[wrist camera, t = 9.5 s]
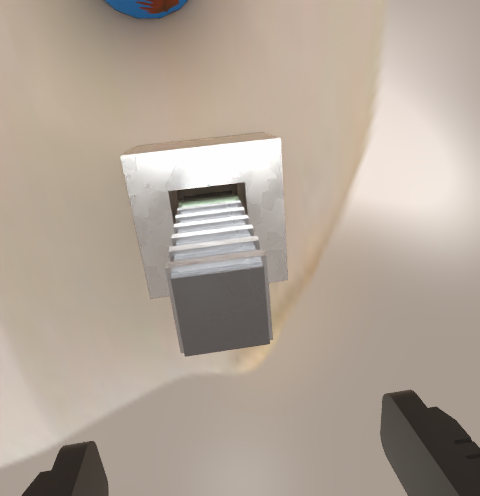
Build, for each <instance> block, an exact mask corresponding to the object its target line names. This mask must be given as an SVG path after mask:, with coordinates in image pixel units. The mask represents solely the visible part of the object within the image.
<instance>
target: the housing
mask: <svg viewBox="0 0 480 496" xmlns="http://www.w3.org/2000/svg"><path fill="white" fill-rule="evenodd" d="M120 157H121V162H122V167H123V171H124V176H125V181H126V186H127V190H128V195H129V200H130V205H131V209H132V214H133V219H134V223H135V228H136V233H137V238H138V242H139V247H140V252H141V257H142V261H143V266H144V271H145V276H146V280H147V285H148V290H149V294H150V299H153V298H160V297H168V296H170V292H169V287H168V282H167V276H166V271H165V266H166V262H170V258H169V247H172V240H171V237H172V234H175V233H174V224H176V219H175V218H176V215H178V213H177V208H179V204H178V203H179V201H178V195H177V190H182V189H190V188H199V187H207V186H216V185H224V184H233V183H237V192H238V199H239V200H240V201H241V206H242V207H244V209H245V215H247V216H248V218H249V225H250V224H252V226H253V228H254V236H258V238H259V243H260V250H263V249H264V251H265V253H266V256H267V269H268V282H269V283H270V282H277V281H284V280H288V270H287V251H286V232H285V213H284V194H283V175H282V156H281V138H279V137H275V136H272V135H269V134H266V133H263V132H262V133H253V134H244V135H234V136H225V137H216V138H207V139H197V140H188V141H179V142H170V143H160V144H151V145H142V146H136V147H135V148H133V149H131V150H129V151H128V152H126V153H124V154H122V155H121V156H120Z"/></svg>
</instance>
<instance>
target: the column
mask: <svg viewBox="0 0 480 496" xmlns="http://www.w3.org/2000/svg"><path fill="white" fill-rule="evenodd" d="M178 204H179V208H177V213H178V215H176V218H175V219H176V224H174V233H175V234H172V237H171V240H172V247H169V258H170V262H166V266H165V271H166V276H167V282H168V287H169V292H170V298H171V303H172V308H173V313H174V319H175V324H176V329H177V335H178V340H179V345H180V351H181V353H184V354H185V356H192V355H199V354H206V353H212V352H219V351H226V350H233V349H239V348H246V347H253V346H259V345H266V344H270V340H273V336H272V322H271V309H270V296H269V282H268V269H267V256H266V253H265V251H264V249H263V250H260V243H259V238H258V236H254V228H253V226H252V224H250V225H249V218H248V216H247V215H245V209H244V207H242V206H241V201H240V200H239V199H238V195H237V194H234V195H233V194H232V191H225V192H217V193H209V194H200V195H192V196H184V199H183V201H179V203H178Z"/></svg>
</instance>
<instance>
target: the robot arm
mask: <svg viewBox="0 0 480 496" xmlns="http://www.w3.org/2000/svg"><path fill="white" fill-rule="evenodd" d="M380 435H381V442H382V446H383V449H384V452H385V454H386V457H387V458H388V460H389V462H390V464H391V466H392V468H393V469H394V471H395V473H396V474H397V477H398V478H399V480H400V482H401V483H402V486H403V487H404V489H405V491H406V492H407V495H408V496H480V448H479V447H478V446H477V444H476V443H475V442H472V440H471V437H470V436H469V435H468V434H467V433H466V431H465V430H464V429H463V428H462V427H461V426H460V425H459V423H458V422H457V421H456V420H455V419H453V418H452V417H451V416H449V415H448V414H446V413H445V412H443V411H442V410H440V409H439V408H438V407H431V408H427V407H426V405H425V404H424V403H423V402H422V400H421V399H420V398H419V397H418V395H417V394H416V393H415V392H414V391H412V390H406V391H400V392H394V393H387V394H384V396H383V400H382V415H381V431H380ZM22 496H108V481H107V477H106V474H105V471H104V468H103V465H102V462H101V459H100V456H99V452H98V449H97V446H96V444H95V442H94V441H89V442H83V443H77V444H71V445H65V446H63V447H62V448H61V449H60V451H59V453H58V455H57V458H56V460H55V463H54V465H53V468H52V470H51V471H45V472H40V474H39V475H38V476H37V477H36V478H35V479H34V481H33V482H32V483H31V484H30V486H29V487H28V488H27V489H26V491H25V492H24V493H23V494H22Z"/></svg>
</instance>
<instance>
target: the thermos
mask: <svg viewBox="0 0 480 496" xmlns="http://www.w3.org/2000/svg"><path fill="white" fill-rule="evenodd" d="M105 1H106V2H107V3H108V4H109V5H111V6H112V7H113V8H114V9H115V10H117V11H120V12H122V13H125V14H128V15H130V16H133V17H136V18H161V17H163V16H166V15H168V14H170V13H172V12H174V11H177V10H179V9H180V8H181V7H182V6H183V5H184V4H185V3H186V2H187V1H188V0H105Z"/></svg>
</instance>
